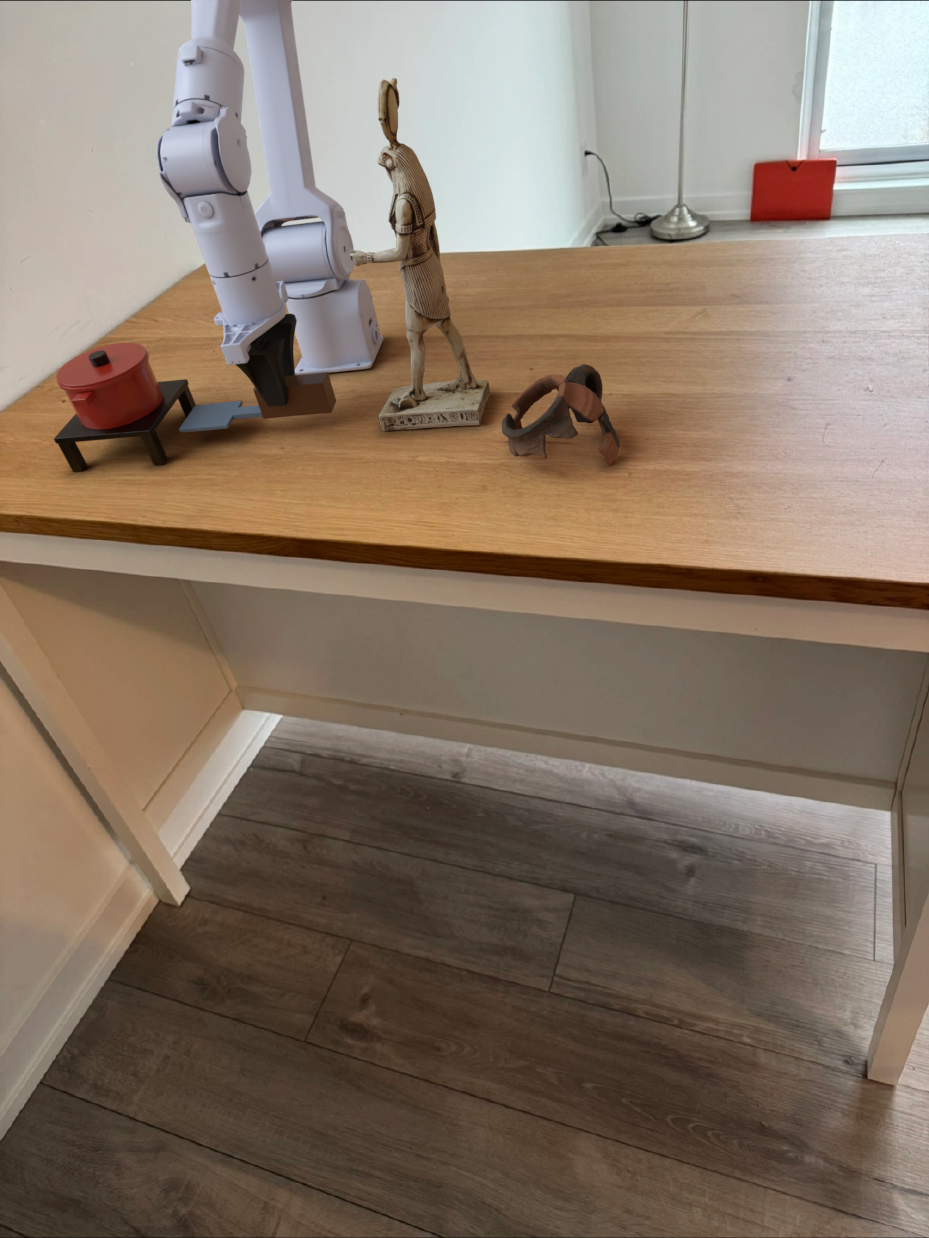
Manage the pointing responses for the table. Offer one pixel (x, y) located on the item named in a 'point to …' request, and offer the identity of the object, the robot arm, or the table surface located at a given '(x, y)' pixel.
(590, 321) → the table surface
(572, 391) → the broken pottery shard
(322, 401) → the spatula
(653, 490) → the table surface
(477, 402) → the statue
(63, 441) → the pot
